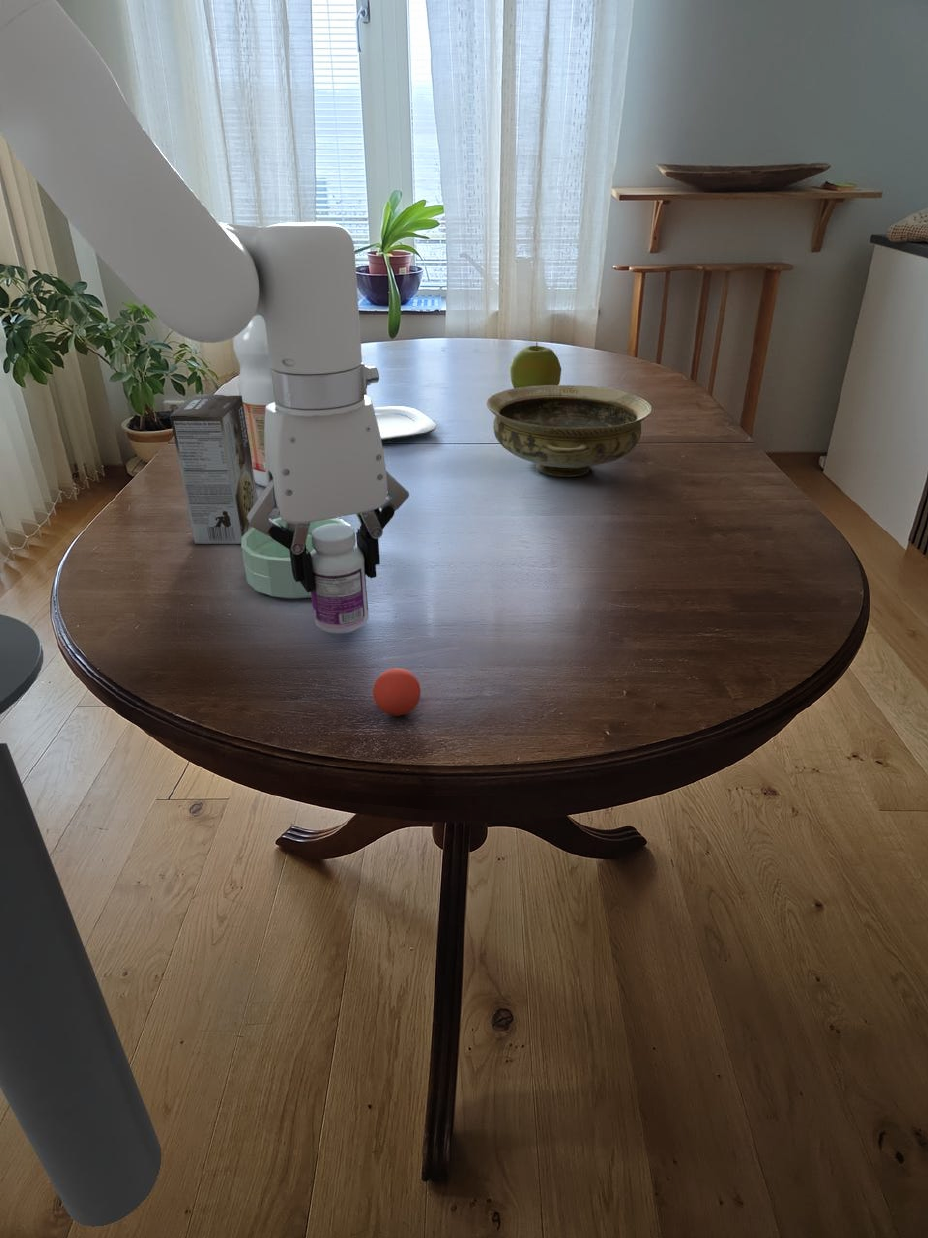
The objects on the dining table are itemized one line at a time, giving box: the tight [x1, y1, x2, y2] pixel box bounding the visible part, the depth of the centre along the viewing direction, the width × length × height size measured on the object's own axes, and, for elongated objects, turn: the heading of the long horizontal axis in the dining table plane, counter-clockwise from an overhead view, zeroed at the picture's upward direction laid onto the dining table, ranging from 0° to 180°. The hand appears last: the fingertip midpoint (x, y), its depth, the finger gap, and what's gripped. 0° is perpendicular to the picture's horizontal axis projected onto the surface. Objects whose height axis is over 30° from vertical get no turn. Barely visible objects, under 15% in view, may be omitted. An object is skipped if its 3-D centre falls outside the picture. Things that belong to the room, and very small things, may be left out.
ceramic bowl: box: [486, 384, 653, 478], centre depth 117 cm, size 30×24×10 cm
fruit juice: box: [232, 315, 275, 488], centre depth 110 cm, size 9×9×28 cm
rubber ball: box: [372, 667, 421, 717], centre depth 66 cm, size 4×4×4 cm
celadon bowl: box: [240, 516, 353, 599], centre depth 88 cm, size 12×12×5 cm
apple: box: [509, 341, 562, 389], centre depth 151 cm, size 10×10×11 cm
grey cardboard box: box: [169, 394, 259, 545], centre depth 97 cm, size 9×6×16 cm
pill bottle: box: [310, 524, 370, 634], centre depth 75 cm, size 5×5×10 cm
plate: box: [374, 405, 437, 443], centre depth 137 cm, size 18×18×2 cm
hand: (337, 577), depth 75 cm, fingers closed on pill bottle, 5 cm apart
